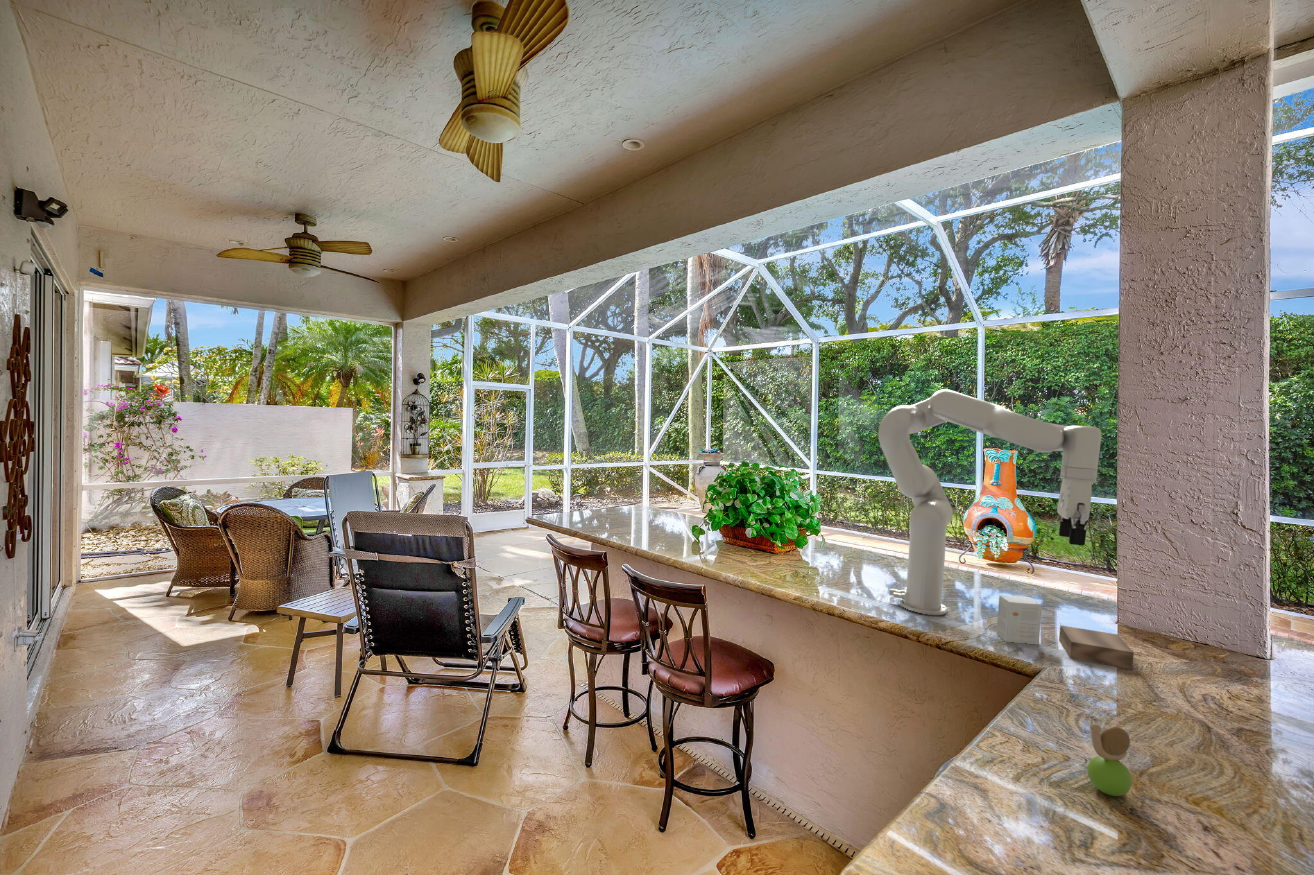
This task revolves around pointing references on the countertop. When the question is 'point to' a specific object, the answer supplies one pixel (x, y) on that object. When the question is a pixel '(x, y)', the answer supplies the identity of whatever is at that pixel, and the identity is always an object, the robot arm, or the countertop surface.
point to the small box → (1019, 619)
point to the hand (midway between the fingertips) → (1071, 540)
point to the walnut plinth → (1096, 647)
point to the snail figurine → (1109, 760)
